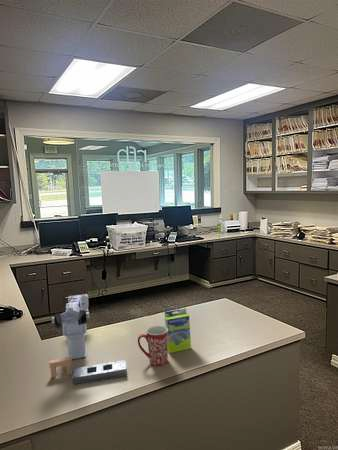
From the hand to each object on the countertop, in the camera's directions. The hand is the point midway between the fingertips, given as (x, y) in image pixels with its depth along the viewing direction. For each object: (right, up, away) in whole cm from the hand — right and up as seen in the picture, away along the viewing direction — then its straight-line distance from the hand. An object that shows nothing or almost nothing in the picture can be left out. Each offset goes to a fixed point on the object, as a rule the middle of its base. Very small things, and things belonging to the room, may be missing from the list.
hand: (68, 323), depth 125 cm
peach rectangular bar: (-4, -22, +5) cm, 23 cm away
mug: (+32, -19, +10) cm, 39 cm away
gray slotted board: (+12, -21, +2) cm, 24 cm away
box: (+43, -17, +20) cm, 50 cm away
